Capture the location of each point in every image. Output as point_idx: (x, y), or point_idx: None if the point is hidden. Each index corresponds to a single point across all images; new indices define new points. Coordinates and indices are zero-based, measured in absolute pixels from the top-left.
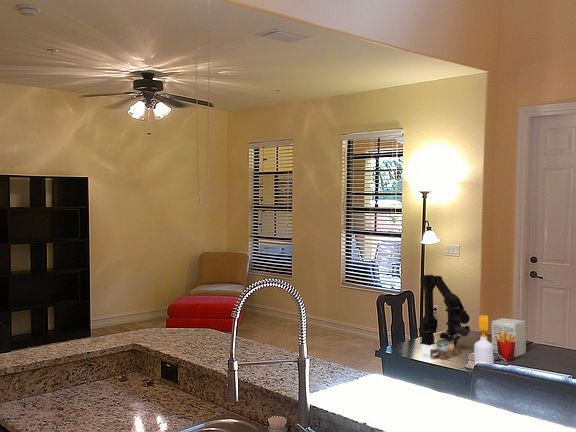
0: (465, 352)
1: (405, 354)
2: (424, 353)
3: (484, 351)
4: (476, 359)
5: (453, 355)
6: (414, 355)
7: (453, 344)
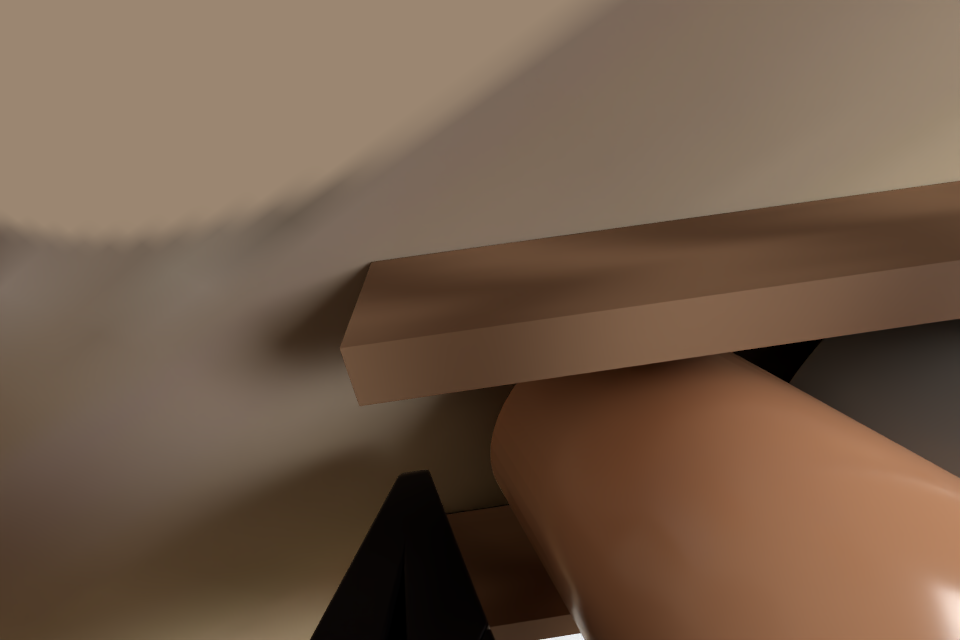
0: (111, 311)
1: None
2: None
3: None
4: None
5: (822, 215)
6: None
7: (946, 570)
